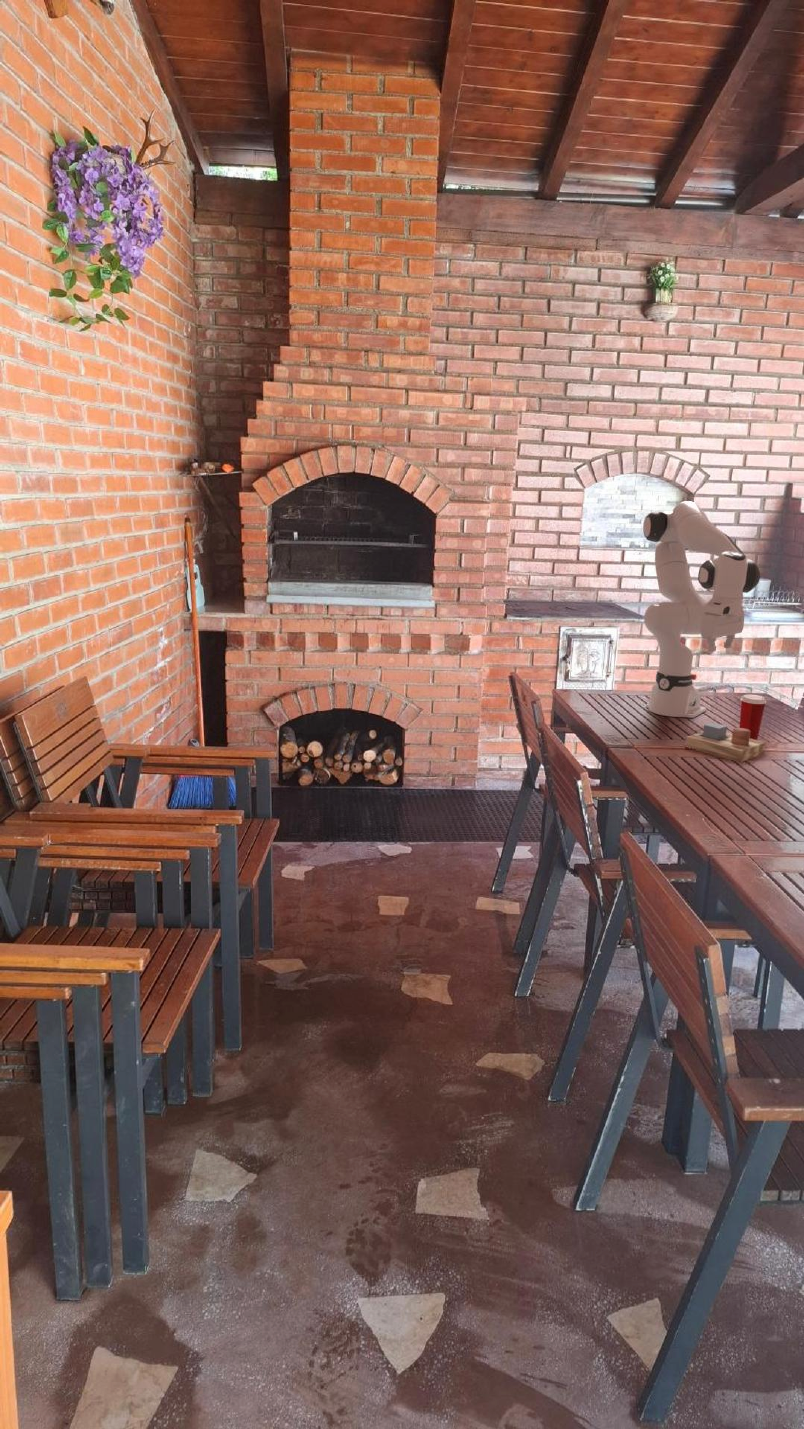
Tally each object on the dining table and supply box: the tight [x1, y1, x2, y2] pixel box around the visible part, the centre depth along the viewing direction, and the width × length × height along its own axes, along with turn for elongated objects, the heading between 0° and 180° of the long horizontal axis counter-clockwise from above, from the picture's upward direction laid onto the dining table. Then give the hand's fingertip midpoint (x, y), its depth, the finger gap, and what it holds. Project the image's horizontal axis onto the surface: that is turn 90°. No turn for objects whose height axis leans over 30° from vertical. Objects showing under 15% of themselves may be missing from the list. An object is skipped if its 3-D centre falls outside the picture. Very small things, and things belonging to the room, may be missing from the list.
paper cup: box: [738, 694, 767, 740], centre depth 292 cm, size 8×8×14 cm
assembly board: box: [685, 727, 766, 763], centre depth 279 cm, size 15×18×8 cm
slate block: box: [702, 722, 728, 741], centre depth 282 cm, size 5×5×6 cm
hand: (719, 649), depth 284 cm, fingers open, 8 cm apart
